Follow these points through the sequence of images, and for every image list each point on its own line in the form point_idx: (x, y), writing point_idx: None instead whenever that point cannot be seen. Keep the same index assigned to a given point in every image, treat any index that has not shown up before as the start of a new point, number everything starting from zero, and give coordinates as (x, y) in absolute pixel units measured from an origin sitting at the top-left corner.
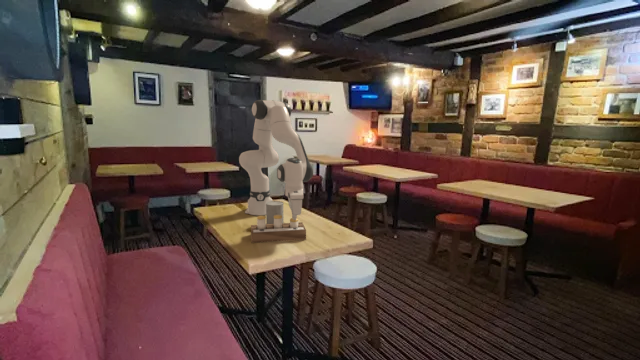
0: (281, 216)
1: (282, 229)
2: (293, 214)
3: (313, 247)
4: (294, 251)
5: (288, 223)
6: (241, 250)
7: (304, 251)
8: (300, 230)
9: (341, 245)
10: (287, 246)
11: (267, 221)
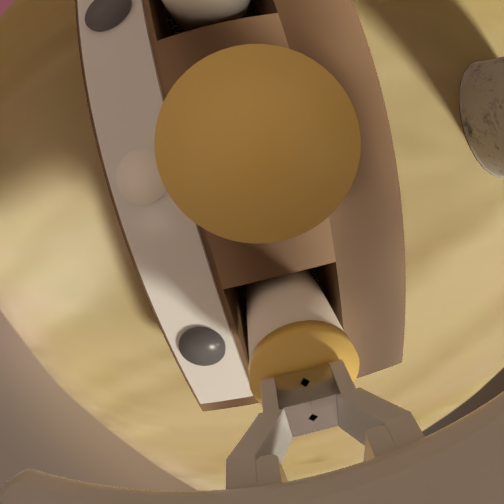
0: (220, 235)
1: (149, 220)
2: (20, 472)
3: (102, 387)
4: (25, 301)
5: (393, 252)
6: (13, 15)
7: (43, 347)
8: (185, 377)
9: (165, 465)
10: (67, 256)
11: (494, 60)
